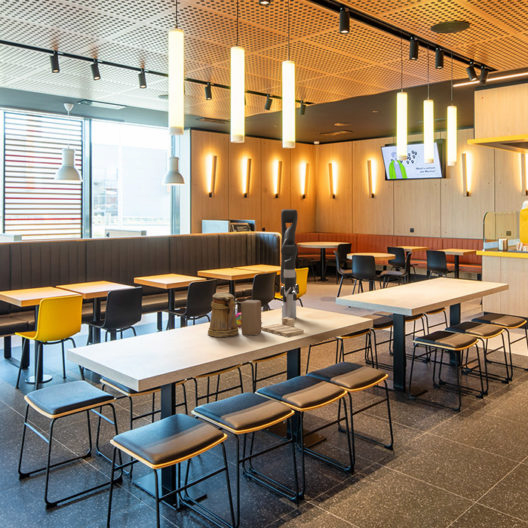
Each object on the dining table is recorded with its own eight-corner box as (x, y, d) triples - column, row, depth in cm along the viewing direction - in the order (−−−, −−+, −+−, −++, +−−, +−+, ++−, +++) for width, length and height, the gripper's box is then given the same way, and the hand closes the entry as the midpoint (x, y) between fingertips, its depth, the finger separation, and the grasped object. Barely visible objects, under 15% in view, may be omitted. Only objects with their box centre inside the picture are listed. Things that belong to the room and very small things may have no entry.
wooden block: (262, 332, 331) (261, 300, 329) (256, 335, 322) (255, 302, 320) (246, 331, 334) (246, 299, 332) (241, 334, 325) (240, 302, 323)
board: (261, 330, 337) (261, 326, 336) (278, 326, 345) (278, 323, 345) (286, 336, 318) (286, 333, 318) (303, 333, 327) (303, 329, 327)
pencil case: (248, 320, 369) (248, 307, 368) (260, 321, 364) (260, 308, 363) (231, 326, 350) (231, 312, 349) (244, 327, 345) (244, 313, 344)
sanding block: (282, 326, 347) (281, 318, 346) (287, 325, 350) (287, 317, 349) (289, 328, 341) (289, 319, 341) (294, 327, 344) (294, 318, 344)
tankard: (227, 329, 340) (226, 290, 338) (248, 336, 321) (247, 294, 319) (202, 333, 330) (201, 293, 327) (222, 340, 311) (221, 298, 308)
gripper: (293, 274, 349) (293, 299, 351) (277, 276, 340) (277, 302, 342) (301, 275, 344) (301, 300, 345) (285, 277, 335) (285, 303, 336)
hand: (289, 301), depth 344 cm, fingers open, 8 cm apart
